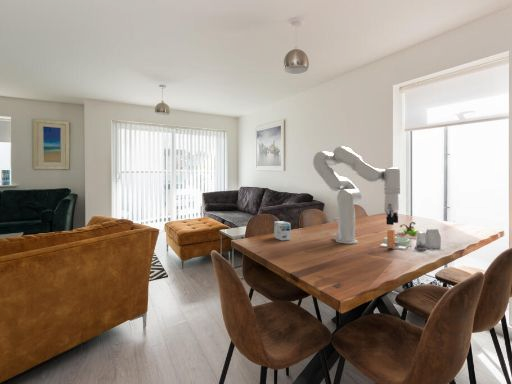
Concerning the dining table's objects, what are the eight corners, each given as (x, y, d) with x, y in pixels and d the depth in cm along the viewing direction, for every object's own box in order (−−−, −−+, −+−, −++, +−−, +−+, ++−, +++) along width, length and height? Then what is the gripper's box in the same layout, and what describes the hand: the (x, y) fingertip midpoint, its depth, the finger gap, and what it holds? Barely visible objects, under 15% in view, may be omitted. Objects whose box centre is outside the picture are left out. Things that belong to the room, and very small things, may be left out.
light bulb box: (290, 240, 164) (291, 222, 163) (281, 240, 161) (281, 223, 161) (282, 236, 174) (283, 220, 173) (273, 237, 171) (273, 221, 171)
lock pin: (387, 247, 139) (387, 230, 139) (393, 242, 150) (393, 227, 150) (393, 247, 137) (393, 230, 137) (399, 243, 148) (399, 227, 148)
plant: (436, 242, 158) (436, 224, 157) (402, 242, 158) (403, 223, 158) (417, 236, 178) (417, 220, 177) (387, 236, 178) (387, 219, 178)
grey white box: (440, 248, 143) (440, 229, 142) (429, 248, 141) (430, 230, 141) (434, 246, 146) (435, 228, 146) (424, 246, 145) (424, 228, 145)
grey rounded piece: (413, 249, 139) (413, 232, 139) (415, 247, 144) (415, 231, 144) (426, 251, 136) (426, 233, 136) (427, 249, 140) (427, 232, 140)
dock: (380, 246, 145) (380, 240, 145) (387, 242, 157) (387, 236, 157) (404, 250, 138) (404, 243, 137) (410, 245, 149) (410, 239, 149)
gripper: (388, 191, 148) (389, 221, 148) (379, 191, 135) (380, 224, 135) (403, 191, 143) (404, 222, 143) (395, 191, 130) (396, 226, 130)
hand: (392, 223), depth 139 cm, fingers open, 9 cm apart
